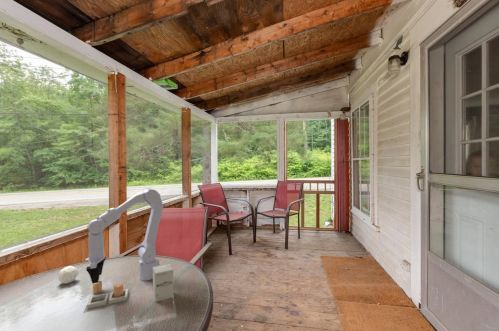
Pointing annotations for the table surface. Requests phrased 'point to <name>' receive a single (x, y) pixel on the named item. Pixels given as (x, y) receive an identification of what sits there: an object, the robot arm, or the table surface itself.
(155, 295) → the supplement box
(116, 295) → the jaw pin
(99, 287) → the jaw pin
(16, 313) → the table surface
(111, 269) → the table surface
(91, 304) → the housing
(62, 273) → the ball
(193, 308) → the table surface
